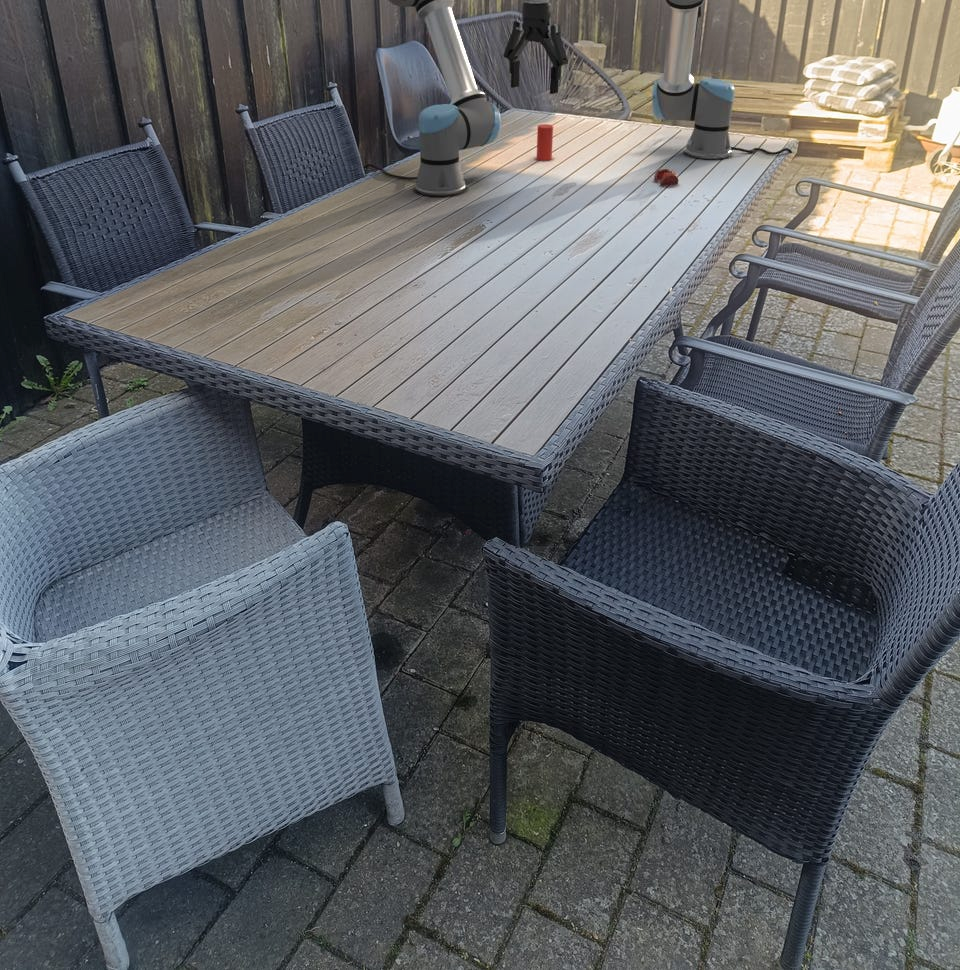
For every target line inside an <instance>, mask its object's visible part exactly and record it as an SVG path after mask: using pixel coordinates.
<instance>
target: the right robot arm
mask: <svg viewBox="0 0 960 970" xmlns="http://www.w3.org/2000/svg"><path fill="white" fill-rule="evenodd" d="M665 3H666V5H667V6H668V7H669V13H668V23H667V33H666V44H665V55H664V63H663V73H661V74H660V75H659V77H658V80H657V81H654V83H653V86H652V114H653V116H654V118H655V119H658V120H664V121H683V122H684V121H685V122H694V125H693V130H692V133H691V135H690V137H689V138H688V140H687V141H686V146H685V151H684V152H685V154H686V155H687V156H689V157H692V158H696V159H701V160H721V159H726V158H729V157H730V156H731V154H732V153H731V152H732V150H733V151H738V152H743V153H748V154H751V153H753V152H756V151H758V152H762V153H764V154H766V155H770V156H771V155H772V156H775V155H780V154H782V153H784V152H788V153H789V154H792V153H793V151H792V150H791V149H790V148H789V147H784V148H782V149H780V150H777V151H770V150H769V151H768V150H766V149H764V148H762V147H754V148H752V149H745V148H740V147H735V146H731V139H730V133H729V132H730V131H729V130H730V125H731V119H732V111H733V105H734V103H735V91H736V89H735V87H734V85H733V84H732V83H730V82H728V81H726V80H722V79H717V78H710V77H709V78H708V77H703V78H701V79H700V81H699V83H698V82H695V79H694V76H693V75H692V74H691V69H692V63H693V62H692V61H693V54H694V46H695V40H696V36H697V28H698V22H699V18H701V17H702V6H703V4H704V3H705V0H665Z"/></svg>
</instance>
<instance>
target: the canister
mask: <svg viewBox="0 0 960 970" xmlns="http://www.w3.org/2000/svg"><path fill="white" fill-rule="evenodd" d="M536 137H537V138H536V160H537V161H542V162H545V161H546V162H548V161H551V160H552V159H553V140H554V125H553V124H548V123H546V124H545V123H544V124H537V136H536Z"/></svg>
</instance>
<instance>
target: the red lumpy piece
mask: <svg viewBox="0 0 960 970" xmlns="http://www.w3.org/2000/svg"><path fill="white" fill-rule="evenodd" d="M678 177H679V176H677V173H676V171H673V170H670V169H669V168H660V169H657V170H656V172H655V174H654V178H653V181H654V182H659V181H660V183H659V184H660V186H661V187H664V186H665V187H667V186H677V185H679V178H678Z"/></svg>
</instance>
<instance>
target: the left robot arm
mask: <svg viewBox="0 0 960 970" xmlns="http://www.w3.org/2000/svg"><path fill="white" fill-rule="evenodd" d="M387 1H388V2H390V3H391V4H392V5H394V6H396V7H400V8H413V7H414V9H415V12H416V14H417V17H418V18H419V19H421V20H423V21H424V23H425V25H426V28H427V31H428V34H429V37H430V40H431V42H432V47H433V49H434V52H435V55H436V58H437V62H438V64H439V67H440V70H441V73H442V76H443V80H444V82H445V86H446V88H447V92H448V94H449V98H450V103H442V104H434V105H430V106H428V107H426V108H424V109H422V110H421V111H420V113H419V116H418V132H419V133H418V134H419V157H420V158H419V159H420V161H419V162H420V164H419V168H418V172H417V176H403V175H402V176H401V175H398V174H393V173H389V172H387V170H385V169H384V168H383V167H380V166H378V165H375V164H373V163H367V164H366V163H365V165H364V166H363V169H367V168H368V167H371V168H373V169H376V170H379V171H380V172H382V173H383V174H384V175H386V176H388V177H392V178H395V179H401V180H406V181H415V185H414V186H415V192H417V193H418V194H420V195H424V196H430V197H450V196H455V195H459V194H461V193H463V192H464V191H466V181H465V179H464V172H462V169H461V165H460V151H463V150H468V149H473V148H478V147H479V148H480V147H484V146H486V145H489V144H492V143H494V142H495V141H496V139H497V138H498V136H499V134H500V130H501V124H502V123H501V121H502V120H501V119H502V118H501V114H500V110H499V109H498V107H497V106H496V105H495V104H494V103H493V102H489V101H488V100H487V97H486V94H485V92H483V91H481V90H479V89H478V86H477V83H476V79H475V77H474V73H473V70H472V68H471V67H472V66H471V64H470V62H469V59H468V55H467V52H466V49H465V46H464V42H463V40H462V37H461V35H460V30H459V27H458V25H457V22H456V19H455V15H454V12H453V8H454V5H455V0H387ZM523 1H524V2H522V6H521V12H522V13H521V14H522V15H521V17H522V19H523V20H521V19H518V20H513V23H512V30H511V33H510V35H509V38H508V41H507V44H506V46H505V50H504V52H503V58H504V59H507V60H508V61H509V64H508V65H509V68H508V69H509V70H508V71H509V74H510V88H511V89H514V88H518V87H520V64H521V63H520V60H519V57H520V55H521V54H522V53H523V51H524V49H525V48H526V47H527V46H528V43H529V42H535V43H539V44H540V45H541V46H542V47H543V49H544V52H545V53H546V54H547V56H548V58H549V61H550V62H551V64H552V66H551V67H550V77H549V94H550V95H555V94H558V93H559V81H561V79H562V67H563V66H565V65H568V64H569V59H568V56H567V53H566V50H565V45H564V43H563V40H562V36H561V30H560V29H561V28H560V24H559V23H556V24H555V23H554V24H550V20H551V16H552V3H551V2H550V0H523ZM522 31H523V33H522ZM521 34H522V35H521ZM382 170H383V171H382Z"/></svg>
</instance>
